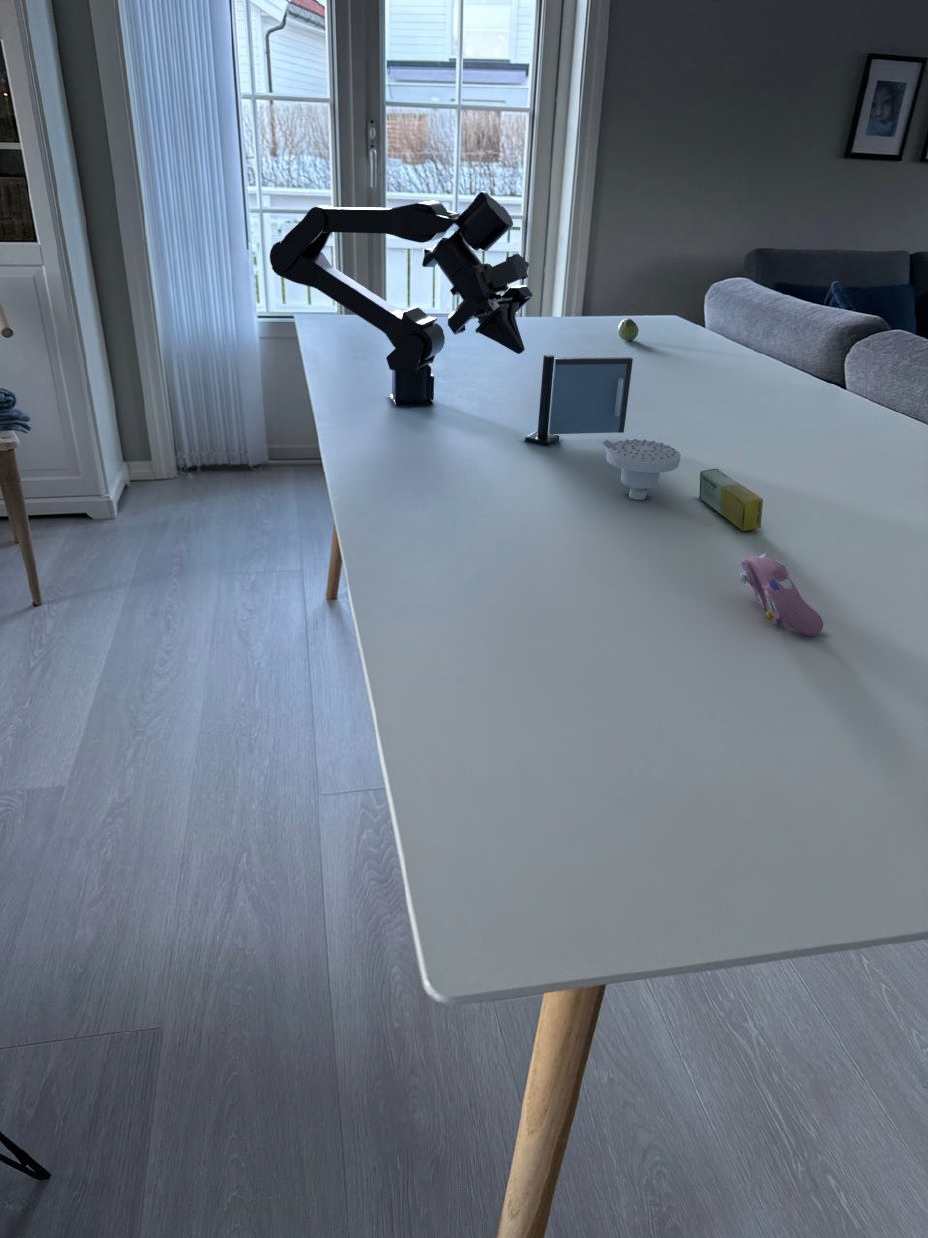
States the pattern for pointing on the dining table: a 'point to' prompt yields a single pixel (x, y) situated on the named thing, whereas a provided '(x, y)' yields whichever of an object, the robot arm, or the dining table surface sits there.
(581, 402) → the shower door
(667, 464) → the showerhead
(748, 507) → the medication box
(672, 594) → the dining table surface
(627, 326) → the lime
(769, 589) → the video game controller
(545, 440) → the hinge post
